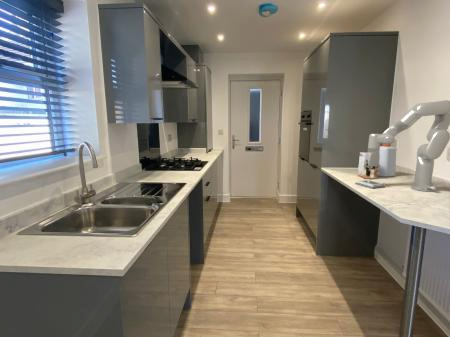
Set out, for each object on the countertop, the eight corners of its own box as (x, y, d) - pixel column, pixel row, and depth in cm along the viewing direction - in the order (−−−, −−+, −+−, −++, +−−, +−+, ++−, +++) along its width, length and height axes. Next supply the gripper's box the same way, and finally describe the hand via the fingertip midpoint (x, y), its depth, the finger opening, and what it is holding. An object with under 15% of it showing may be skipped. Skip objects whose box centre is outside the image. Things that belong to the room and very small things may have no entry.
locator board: (385, 187, 186) (386, 183, 186) (371, 188, 182) (372, 185, 182) (368, 182, 200) (368, 179, 200) (355, 184, 196) (355, 180, 196)
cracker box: (372, 179, 212) (375, 154, 208) (365, 179, 212) (368, 154, 208) (364, 175, 226) (366, 152, 222) (357, 175, 226) (359, 152, 222)
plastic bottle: (383, 177, 219) (387, 144, 214) (369, 174, 234) (372, 143, 229) (397, 176, 223) (401, 144, 218) (382, 173, 238) (386, 142, 232)
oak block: (367, 175, 195) (368, 167, 194) (378, 177, 187) (379, 169, 186) (362, 175, 194) (363, 167, 192) (373, 178, 185) (374, 169, 184)
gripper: (377, 150, 193) (374, 173, 196) (360, 150, 187) (357, 175, 191) (386, 151, 186) (383, 176, 189) (368, 151, 180) (365, 177, 184)
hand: (370, 175), depth 190 cm, fingers closed on oak block, 4 cm apart
